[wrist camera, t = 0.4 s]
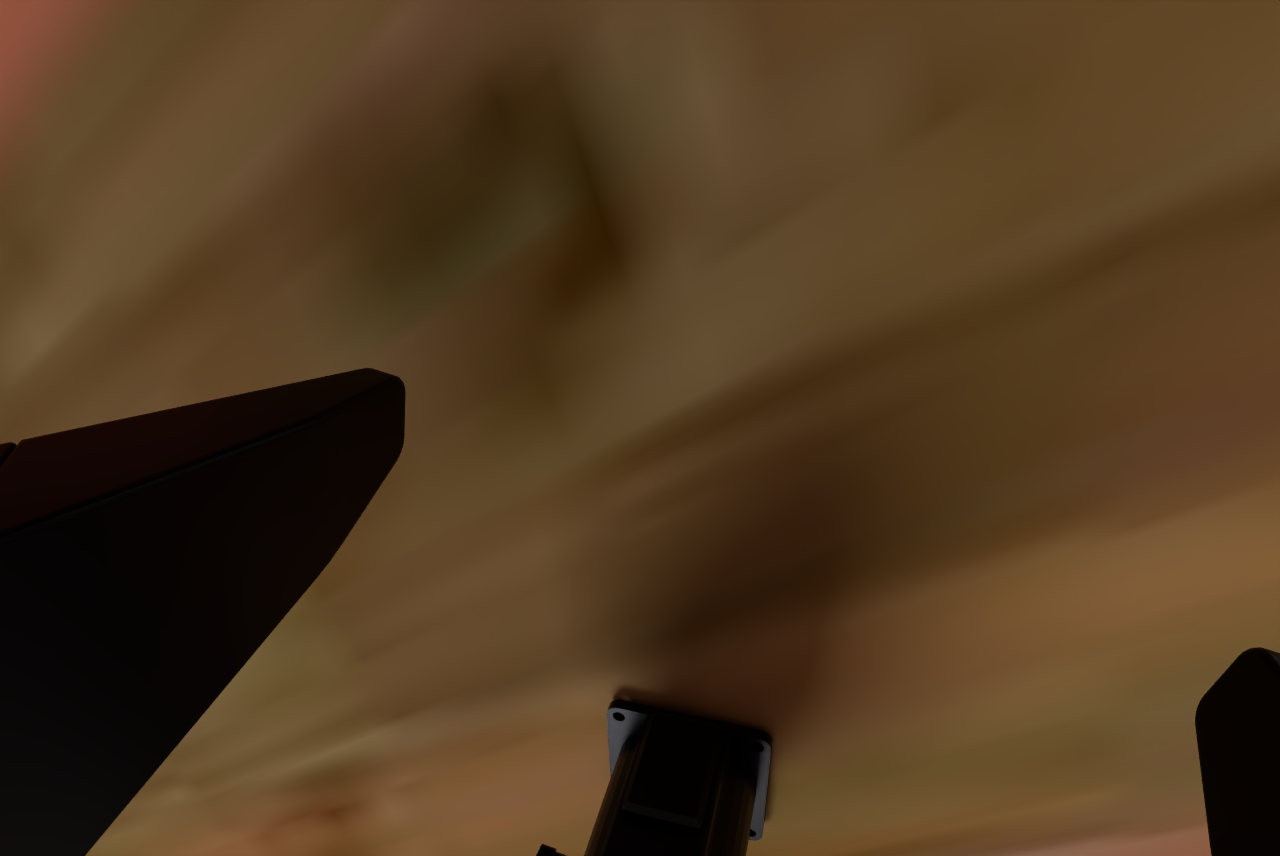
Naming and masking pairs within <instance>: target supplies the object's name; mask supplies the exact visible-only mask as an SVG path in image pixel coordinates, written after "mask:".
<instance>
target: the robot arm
mask: <svg viewBox="0 0 1280 856" xmlns="http://www.w3.org/2000/svg"><path fill="white" fill-rule="evenodd" d="M404 430H405V386H404V383H403V381H402V380H401V379H400V378H399V377H397V376H394V375H391V374H388V373H385V372H381V371H378V370H375V369H372V368H363V369H358V370H353V371H349V372H344V373H339V374H334V375H330V376H325V377H320V378H315V379H310V380H306V381H301V382H296V383H291V384H287V385H282V386H277V387H272V388H267V389H263V390H258V391H253V392H248V393H244V394H239V395H234V396H229V397H225V398H220V399H215V400H210V401H205V402H201V403H196V404H191V405H186V406H182V407H177V408H172V409H167V410H162V411H158V412H153V413H148V414H143V415H139V416H134V417H129V418H124V419H119V420H115V421H110V422H105V423H100V424H96V425H91V426H86V427H81V428H76V429H72V430H67V431H62V432H57V433H53V434H48V435H43V436H38V437H33V438H29V439H24V440H21V441H20V442H19V443H18V444H17V445H16V444H15V443H12V442H8V443H4V444H0V856H85V855H86V854H87V853H88V852H89V850H90V849H91V848H92V847H93V846H94V844H95V843H96V842H97V841H98V840H99V838H100V837H101V836H102V835H103V834H104V832H105V831H106V830H107V829H108V828H109V826H110V825H111V824H112V823H113V822H114V820H115V819H116V818H117V817H118V816H119V814H120V813H121V812H122V811H123V810H124V808H125V807H126V806H127V805H128V804H129V802H130V801H131V800H132V799H133V798H134V796H135V795H136V794H137V793H138V792H139V790H140V789H141V788H142V787H143V786H144V784H145V783H146V782H147V781H148V780H149V778H150V777H151V776H152V775H153V774H154V772H155V771H156V770H157V769H158V768H159V766H160V765H161V764H162V763H163V762H164V760H165V759H166V758H167V757H168V756H169V754H170V753H171V752H172V751H173V750H174V748H175V747H176V746H177V745H178V744H179V742H180V741H181V740H182V739H183V738H184V736H185V735H186V734H187V733H188V732H189V731H190V729H191V728H192V727H193V726H194V725H195V723H196V722H197V721H198V720H199V719H200V717H201V716H202V715H203V714H204V713H205V711H206V710H207V709H208V708H209V707H210V705H211V704H212V703H213V702H214V701H215V699H216V698H217V697H218V696H219V695H220V693H221V692H222V691H223V690H224V689H225V687H226V686H227V685H228V684H229V683H230V681H231V680H232V679H233V678H234V677H235V675H236V674H237V673H238V672H239V671H240V669H241V668H242V667H243V666H244V665H245V663H246V662H247V661H248V660H249V659H250V657H251V656H252V655H253V654H254V653H255V651H256V650H257V649H258V648H259V647H260V645H261V644H262V643H263V642H264V641H265V639H266V638H267V637H268V636H269V635H270V633H271V632H272V631H273V630H274V629H275V627H276V626H277V625H278V624H279V623H280V621H281V620H282V619H283V618H284V617H285V615H286V614H287V613H288V612H289V611H290V609H291V608H292V607H293V606H294V605H295V603H296V602H297V601H298V600H299V599H300V597H301V596H302V595H303V594H304V593H305V591H306V590H307V589H308V588H309V587H310V585H311V584H312V583H313V582H314V581H315V579H316V578H317V577H318V576H319V575H320V573H321V572H322V571H323V569H324V568H325V567H326V566H327V564H328V563H329V562H330V561H331V559H332V558H333V556H334V555H335V554H336V552H337V551H338V549H339V548H340V546H341V545H342V544H343V542H344V541H345V539H346V537H347V536H348V534H349V533H350V531H351V530H352V528H353V527H354V525H355V524H356V522H357V521H358V519H359V518H360V516H361V515H362V513H363V512H364V510H365V509H366V507H367V505H368V504H369V502H370V501H371V499H372V498H373V496H374V495H375V493H376V492H377V490H378V489H379V487H380V486H381V484H382V483H383V481H384V480H385V478H386V477H387V475H388V473H389V472H390V470H391V469H392V467H393V466H394V464H395V463H396V461H397V459H398V458H399V456H400V453H401V451H402V448H403V443H404ZM607 727H608V742H609V758H610V774H611V779H610V782H609V784H608V787H607V790H606V793H605V796H604V799H603V802H602V805H601V808H600V811H599V814H598V816H597V819H596V822H595V825H594V828H593V831H592V834H591V837H590V840H589V843H588V846H587V848H586V851H585V854H584V856H746V852H747V846H748V840H759V839H761V837H762V833H763V827H764V817H765V807H766V798H767V788H768V778H769V769H770V759H771V749H772V738H771V736H770V735H769V734H768V733H766V732H764V731H762V730H758V729H753V728H748V727H744V726H739V725H734V724H730V723H725V722H720V721H716V720H711V719H707V718H702V717H697V716H693V715H688V714H683V713H679V712H674V711H669V710H665V709H660V708H655V707H651V706H646V705H641V704H637V703H632V702H627V701H623V700H614V701H612V702H611V703H610V706H609V708H608V711H607ZM1195 727H1196V735H1197V743H1198V751H1199V759H1200V768H1201V776H1202V784H1203V792H1204V800H1205V808H1206V816H1207V824H1208V833H1209V841H1210V848H1211V854H1212V856H1280V653H1277V652H1274V651H1271V650H1268V649H1264V648H1260V647H1258V648H1250V649H1248V650H1246V651H1244V652H1243V653H1241V654H1240V655H1239V656H1238V657H1237V659H1236V660H1235V661H1234V662H1233V663H1232V664H1231V665H1230V666H1229V668H1228V669H1227V670H1226V671H1225V672H1224V673H1223V674H1222V676H1221V677H1220V678H1219V679H1218V680H1217V681H1216V682H1215V683H1214V685H1213V686H1212V687H1211V688H1210V689H1209V690H1208V691H1207V693H1206V694H1205V695H1204V696H1203V697H1202V699H1201V700H1200V703H1199V705H1198V707H1197V711H1196V717H1195ZM536 856H566V855H564V854H561V853H558V852H556V849H555V848H553V847H550V846H547V845H544V844H542V845H541V847H540V849H539V851H538V853H537V855H536Z"/></svg>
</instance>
